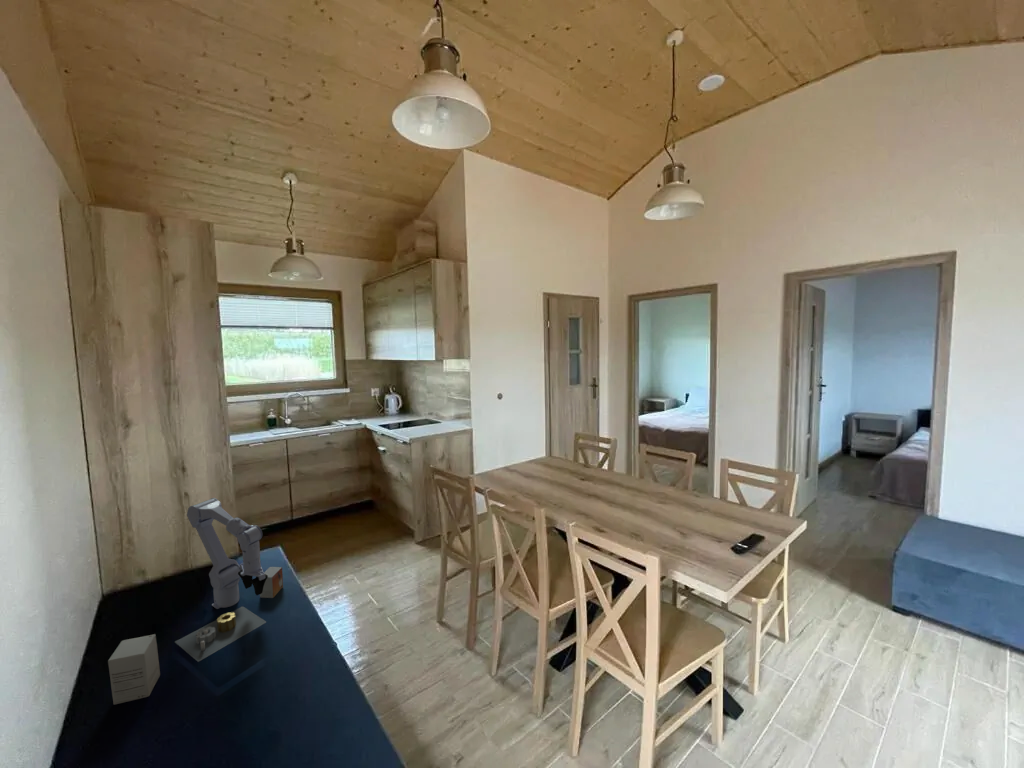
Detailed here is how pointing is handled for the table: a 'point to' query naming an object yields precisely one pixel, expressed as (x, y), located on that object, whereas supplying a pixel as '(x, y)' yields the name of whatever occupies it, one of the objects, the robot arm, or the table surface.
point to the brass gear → (226, 622)
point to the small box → (272, 582)
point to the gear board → (218, 635)
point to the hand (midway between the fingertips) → (253, 590)
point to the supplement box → (134, 669)
